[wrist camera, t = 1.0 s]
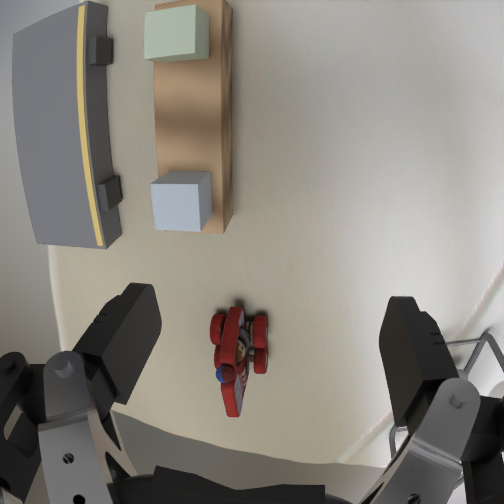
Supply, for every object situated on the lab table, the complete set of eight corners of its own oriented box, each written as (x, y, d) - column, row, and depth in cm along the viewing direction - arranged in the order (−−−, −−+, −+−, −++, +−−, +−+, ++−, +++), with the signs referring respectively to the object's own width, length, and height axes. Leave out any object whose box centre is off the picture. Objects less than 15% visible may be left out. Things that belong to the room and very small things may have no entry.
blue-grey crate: (168, 171, 27) (150, 184, 24) (210, 171, 27) (197, 184, 23) (171, 212, 29) (155, 229, 26) (212, 213, 29) (200, 231, 25)
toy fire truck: (267, 298, 38) (258, 361, 29) (268, 364, 44) (261, 423, 35) (212, 295, 39) (190, 355, 30) (222, 361, 45) (207, 418, 36)
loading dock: (34, 34, 24) (12, 34, 21) (115, 4, 23) (94, -3, 19) (53, 230, 38) (36, 244, 34) (128, 234, 36) (112, 250, 33)
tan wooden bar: (174, 15, 24) (154, 5, 20) (232, 9, 23) (221, -5, 19) (180, 212, 34) (164, 230, 30) (232, 214, 34) (223, 233, 29)
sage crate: (164, 21, 20) (145, 13, 17) (209, 16, 20) (195, 4, 17) (164, 62, 22) (143, 59, 19) (209, 58, 22) (194, 53, 18)
